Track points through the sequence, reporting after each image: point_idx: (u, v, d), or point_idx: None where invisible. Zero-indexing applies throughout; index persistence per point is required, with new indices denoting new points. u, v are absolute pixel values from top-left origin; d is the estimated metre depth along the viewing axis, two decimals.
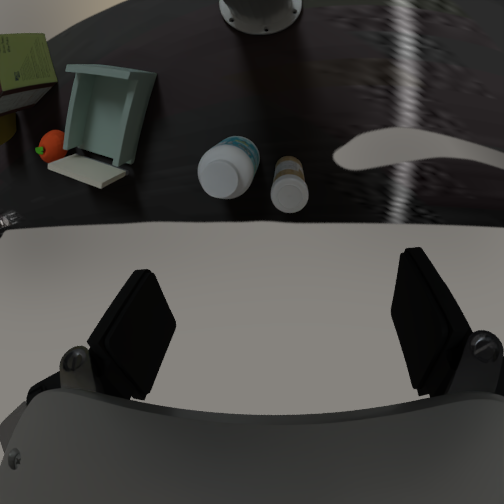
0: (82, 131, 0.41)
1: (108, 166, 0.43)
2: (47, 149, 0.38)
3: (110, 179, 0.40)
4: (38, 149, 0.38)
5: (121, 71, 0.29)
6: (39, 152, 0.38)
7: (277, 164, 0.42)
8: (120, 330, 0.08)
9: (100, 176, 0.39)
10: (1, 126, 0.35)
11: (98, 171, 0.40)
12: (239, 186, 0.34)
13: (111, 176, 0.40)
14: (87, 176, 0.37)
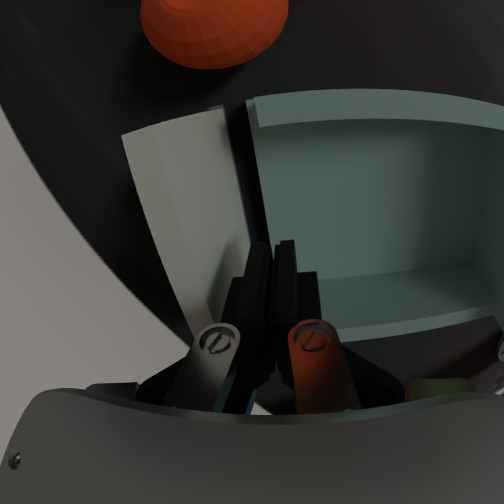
0: None
1: None
2: (212, 7, 0.07)
3: None
4: None
5: None
6: None
7: None
8: (265, 301, 0.08)
9: None
10: None
11: None
12: None
13: None
14: None
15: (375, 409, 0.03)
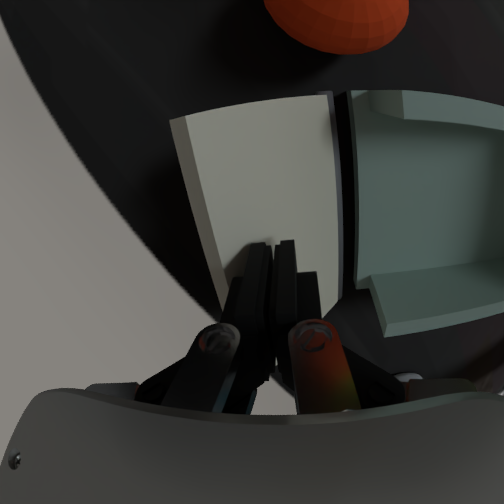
0: None
1: (332, 262, 0.16)
2: None
3: None
4: None
5: None
6: None
7: None
8: (265, 301, 0.08)
9: None
10: None
11: None
12: None
13: None
14: None
15: (375, 409, 0.03)
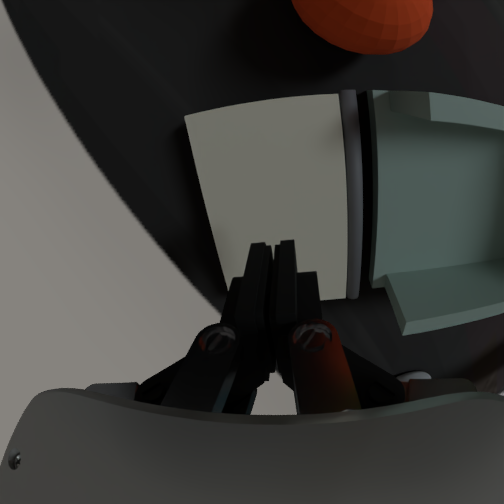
0: None
1: (336, 254, 0.16)
2: None
3: None
4: None
5: None
6: None
7: None
8: (265, 301, 0.08)
9: None
10: None
11: None
12: None
13: None
14: (228, 264, 0.18)
15: (375, 409, 0.03)
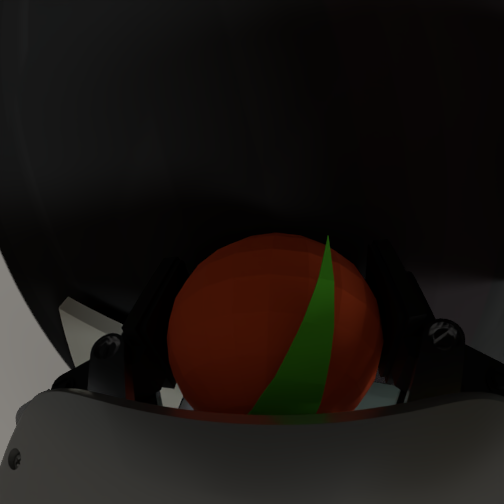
0: None
1: None
2: None
3: None
4: (295, 411, 0.05)
5: None
6: None
7: None
8: (155, 316, 0.08)
9: None
10: None
11: None
12: None
13: None
14: None
15: (375, 409, 0.03)
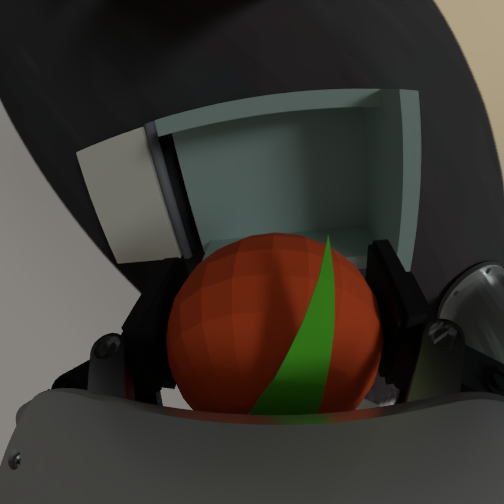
0: None
1: (163, 226, 0.25)
2: None
3: None
4: (295, 412, 0.05)
5: (407, 271, 0.17)
6: None
7: None
8: (155, 316, 0.08)
9: (125, 248, 0.27)
10: None
11: (132, 233, 0.26)
12: None
13: (142, 258, 0.27)
14: (109, 235, 0.26)
15: (375, 409, 0.03)
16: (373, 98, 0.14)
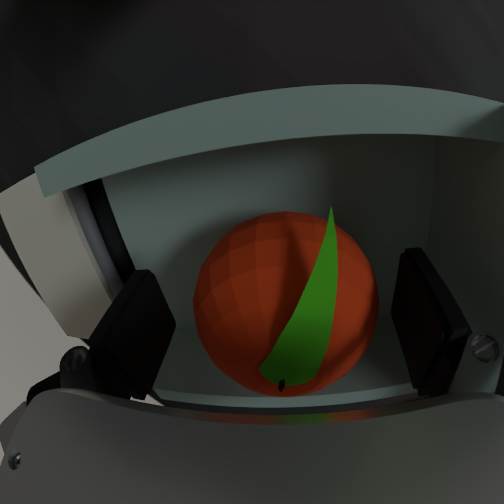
0: None
1: (107, 307, 0.16)
2: (281, 396, 0.08)
3: None
4: (308, 350, 0.07)
5: None
6: (282, 356, 0.07)
7: None
8: (120, 330, 0.08)
9: (70, 322, 0.18)
10: None
11: (73, 308, 0.16)
12: None
13: None
14: (49, 304, 0.17)
15: (375, 409, 0.03)
16: (493, 122, 0.04)
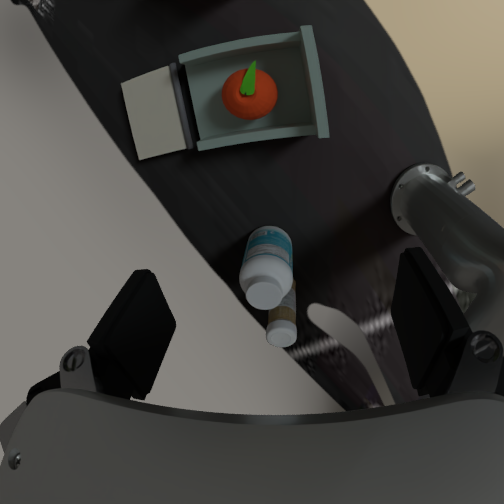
0: (209, 60, 0.30)
1: (175, 126, 0.35)
2: (246, 105, 0.28)
3: (154, 155, 0.38)
4: (250, 81, 0.26)
5: (326, 124, 0.27)
6: (244, 83, 0.26)
7: None
8: (120, 330, 0.08)
9: (147, 146, 0.37)
10: None
11: (153, 134, 0.36)
12: None
13: (158, 152, 0.38)
14: (136, 138, 0.37)
15: (375, 409, 0.03)
16: (294, 36, 0.24)
